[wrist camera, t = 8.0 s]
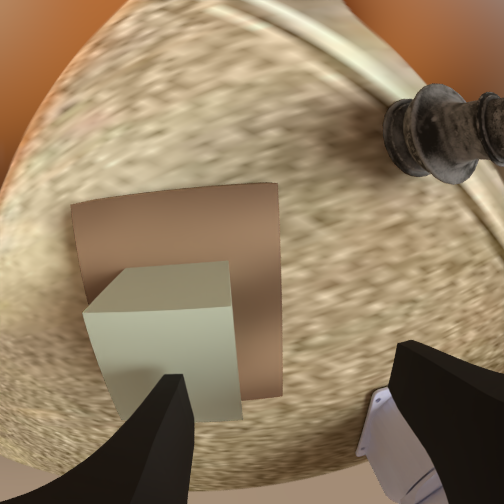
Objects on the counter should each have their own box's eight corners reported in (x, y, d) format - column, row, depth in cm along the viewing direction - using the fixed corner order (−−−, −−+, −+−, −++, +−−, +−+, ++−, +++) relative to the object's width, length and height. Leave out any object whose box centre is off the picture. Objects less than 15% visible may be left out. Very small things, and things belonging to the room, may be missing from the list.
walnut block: (274, 367, 19) (282, 396, 16) (131, 374, 18) (120, 401, 15) (267, 182, 16) (277, 183, 13) (94, 199, 15) (70, 204, 12)
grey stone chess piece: (456, 141, 16) (595, 142, 5) (419, 199, 17) (576, 238, 5) (406, 78, 15) (547, 29, 3) (361, 135, 16) (534, 104, 4)
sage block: (236, 351, 15) (243, 419, 10) (144, 355, 14) (121, 420, 10) (228, 260, 14) (231, 306, 9) (125, 268, 13) (81, 312, 8)
